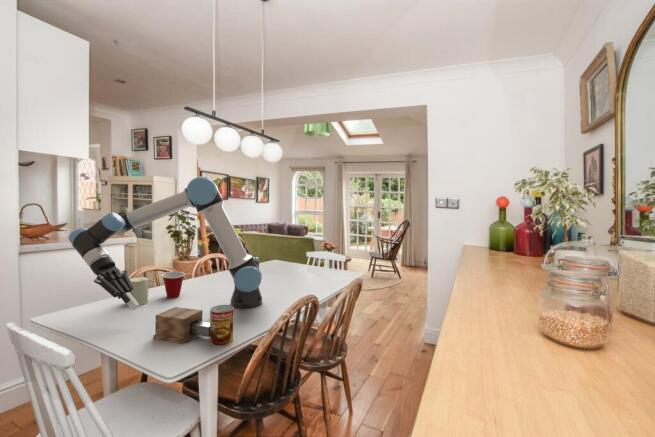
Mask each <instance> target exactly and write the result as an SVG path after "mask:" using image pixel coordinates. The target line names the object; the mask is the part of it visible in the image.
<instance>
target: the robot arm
mask: <svg viewBox="0 0 655 437" xmlns="http://www.w3.org/2000/svg"><path fill="white" fill-rule="evenodd" d="M223 205H224V199H223V197H222V194H221V193H220V190H219V187H218V185H217V184H216V183H215V182H214V180H212V179H211V178H210V177H207V176H198V177H194V178H192V179H191V180H190V181H189V182H188V183H187V186H186V187H185V188H184V189H183V191H181V192H178V193H175V194H173V195H171V196H168V197H165V198H163V199H160V200H157V201H155V202H154V201H153V202H152V203H150V204H147V205H143V206H141V207H139V208H136V209H133V210H131V211H127V212H125V213H123V214H120V215H119V213H116V212H115V211H114V212H113V211H111V212H109V213H107V214H106V215H103V216H102V217H101V219H98V221H96V222H95V223H94V224H92V226H90V227H89V228H87V227H80V228H77V229H75V230H73V231H71V233H69V235H68V241H69V242H70V244H71V245H72V248H74V249H75V251H76V252H77V253H78V254H79V255H80V257H81V258H82V259H83V261H84V262H85V263H86V265H87V266H88V267H89V269H90V270H91V271H92V272H93V274H94V275H96V277H95V279H94V280H93V282H94V283H95V284H96V285H99V286H100V287H101V288H103V290H105V291H106V292H107V293H108V294H110V295H111V296H112V297H113V298H117V299H118V300H120V299H121V300H122V301H123V302H124V303H125V304H126V303H127V304H128V305H127V306H128V307H129V308H130V309H131V311H135V310H136V309H137V308H138V307H139V306H140V305H139V303H138V302H137V301H136V300H135V297H134V295H133V294H132V293H131V291H132V290H133V289H134V288H133V286H132V284H131V282H130V279H131V278H130V277H129V275H128V270H126V269H124V270H120V268H118V267H117V266H116V262H115V261H114V259H113V258H112V256H110V254H109V253H108V252H107V251H106V249H105V248H104V247H103V245H102V244H104V243H105V242H106V241H108V240H109V239H110V238H111V237H112V236H115V235H120V234H124V233H127V232H129V231H131V230H133V229H136V228H138V227H139V228H140V227H141V226H144V225H146V224H149V223H152V222H154V221H156V220H159V219H162V218H165V217H167V216H170V215H173V214H175V213H178V212H181V211H183V210H185V209H188V208H195V209H196V211H197V213H198V214H201V215H203V217H204V218H205V220H206V222H207V224H208V226H209V228H210V229H211V232H212V233H213V235H214V238H215V239H216V241H217V243H218V245H219V248H220V249H221V251H222V252H223V254H224V256H225V258H226V260H227V261H228V266H227V270H228V272H229V273H230V275H231V277H232V279H233V284H234V289H233V292H232V295H231V298H230V306H233V307H234V308H237V309H251V308H256V307H259V306H261V305H262V304H263V297H262V293H261V291H260V285H261V282H262V280H263V279H262V273H261V271H260V258H259V257H257V256H256V257H255V256H252V255H250V254H249V253H247V251H246V249H245V248H244V246H243V244H242V241H241V240H240V237H239V235H238V233H237V231H236V230H235V228H234V226H233V224H232V222H231V220H230V218H229V216H228V214H227V213H226V211H225V209H224V207H223Z"/></svg>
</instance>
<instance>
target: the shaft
mask: <svg viewBox="0 0 655 437" xmlns="http://www.w3.org/2000/svg"><path fill="white" fill-rule="evenodd" d="M189 334H190V335H197V337H198V336H199V337H205V338H210V322H206V321H202V322H200V321H193V322H192V323H190V329H189Z"/></svg>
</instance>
